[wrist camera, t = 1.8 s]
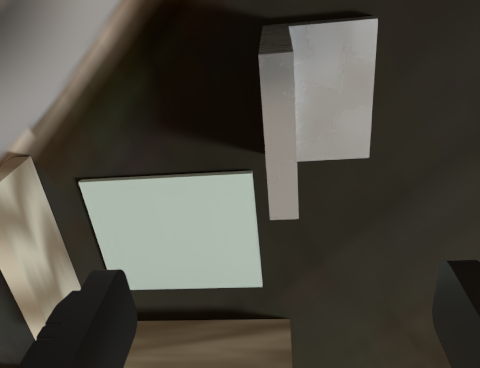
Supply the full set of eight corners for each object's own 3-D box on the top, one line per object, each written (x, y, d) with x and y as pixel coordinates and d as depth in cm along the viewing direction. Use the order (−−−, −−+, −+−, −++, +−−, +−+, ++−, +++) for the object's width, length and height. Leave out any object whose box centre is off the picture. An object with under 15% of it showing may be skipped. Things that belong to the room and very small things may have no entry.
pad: (80, 179, 29) (78, 182, 28) (252, 170, 27) (252, 173, 27) (115, 286, 33) (113, 290, 33) (262, 283, 32) (262, 286, 32)
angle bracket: (262, 25, 23) (258, 54, 16) (372, 15, 22) (414, 41, 16) (271, 154, 27) (270, 219, 20) (365, 149, 26) (395, 215, 20)
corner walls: (11, 157, 28) (-37, 195, 24) (280, 141, 26) (282, 179, 22) (83, 332, 37) (57, 384, 32) (290, 330, 35) (293, 385, 30)
